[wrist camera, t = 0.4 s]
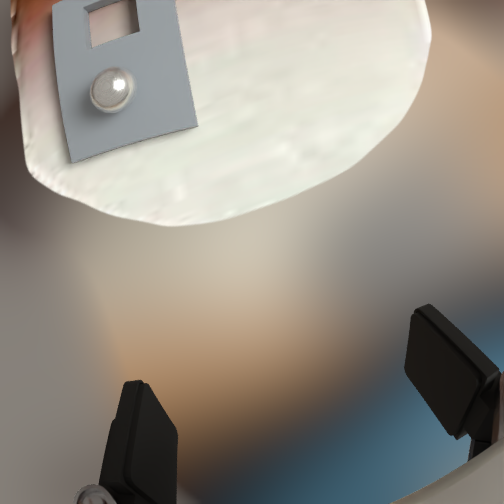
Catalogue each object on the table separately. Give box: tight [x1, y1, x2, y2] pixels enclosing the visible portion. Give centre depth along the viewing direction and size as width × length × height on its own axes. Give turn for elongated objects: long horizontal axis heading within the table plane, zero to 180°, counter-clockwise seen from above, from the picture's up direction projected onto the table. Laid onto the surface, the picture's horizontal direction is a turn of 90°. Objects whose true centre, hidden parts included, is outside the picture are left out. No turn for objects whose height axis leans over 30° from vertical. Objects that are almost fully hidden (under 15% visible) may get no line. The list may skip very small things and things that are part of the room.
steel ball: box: [90, 66, 137, 113], centre depth 25 cm, size 5×5×5 cm
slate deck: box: [52, 0, 198, 163], centre depth 26 cm, size 22×15×2 cm
